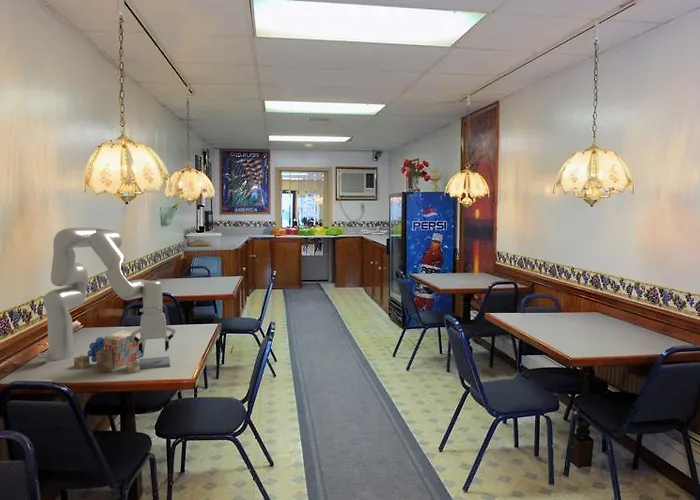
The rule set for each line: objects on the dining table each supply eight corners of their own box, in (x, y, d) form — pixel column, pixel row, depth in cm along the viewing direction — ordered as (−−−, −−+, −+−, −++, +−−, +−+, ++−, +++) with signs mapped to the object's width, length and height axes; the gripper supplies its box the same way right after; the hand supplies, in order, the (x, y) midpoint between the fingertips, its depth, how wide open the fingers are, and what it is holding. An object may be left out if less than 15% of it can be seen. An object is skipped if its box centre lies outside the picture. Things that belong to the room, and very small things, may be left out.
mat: (138, 369, 218) (138, 366, 218) (139, 361, 229) (139, 358, 229) (170, 366, 222) (169, 363, 222) (169, 359, 233) (169, 356, 233)
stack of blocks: (131, 352, 240) (135, 325, 239) (143, 355, 239) (148, 328, 238) (100, 365, 219) (104, 336, 218) (113, 369, 218) (118, 339, 217)
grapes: (117, 361, 231) (121, 334, 230) (115, 366, 225) (119, 338, 224) (88, 358, 228) (92, 330, 227) (84, 364, 221) (89, 335, 220)
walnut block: (96, 373, 212) (96, 353, 212) (99, 369, 217) (98, 350, 216) (110, 372, 213) (110, 352, 213) (113, 368, 218) (112, 349, 218)
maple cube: (129, 373, 212) (128, 363, 212) (126, 371, 216) (126, 361, 215) (139, 371, 215) (139, 361, 214) (136, 369, 218) (136, 359, 218)
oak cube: (74, 367, 221) (73, 357, 220) (81, 364, 225) (80, 355, 224) (82, 368, 220) (82, 358, 220) (89, 365, 224) (89, 355, 223)
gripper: (130, 313, 217) (131, 355, 219) (175, 310, 223) (176, 351, 225) (130, 310, 224) (131, 351, 226) (174, 308, 230) (175, 347, 232)
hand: (154, 351), depth 225 cm, fingers open, 9 cm apart
